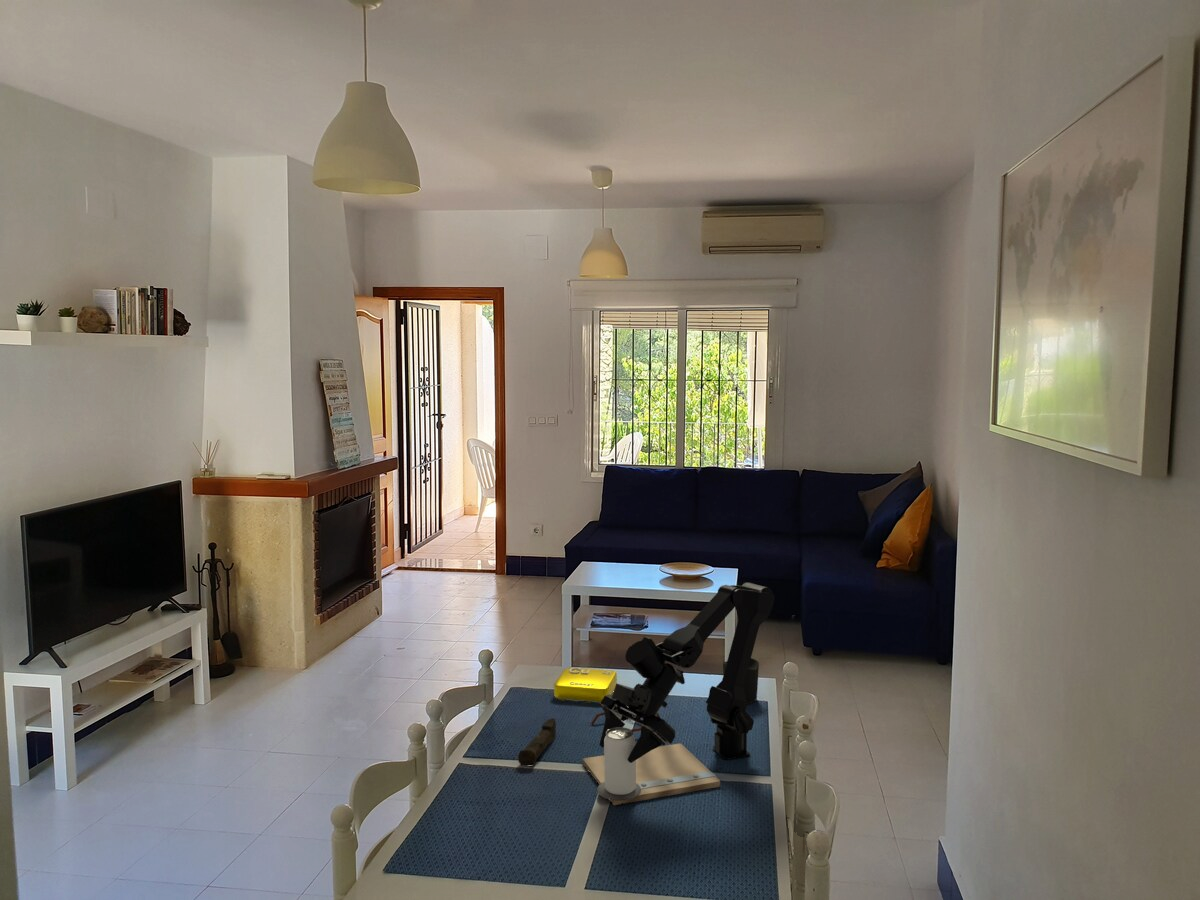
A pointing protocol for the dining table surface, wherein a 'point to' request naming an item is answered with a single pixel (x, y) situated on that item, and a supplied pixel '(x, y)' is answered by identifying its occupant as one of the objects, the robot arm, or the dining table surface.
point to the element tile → (585, 684)
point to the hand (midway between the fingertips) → (614, 753)
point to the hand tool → (538, 743)
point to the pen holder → (750, 680)
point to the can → (619, 761)
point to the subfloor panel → (658, 774)
